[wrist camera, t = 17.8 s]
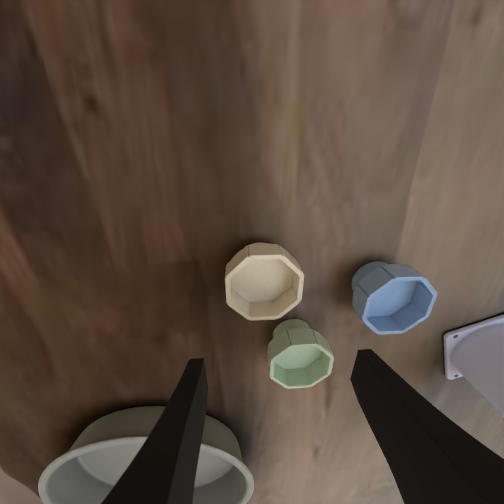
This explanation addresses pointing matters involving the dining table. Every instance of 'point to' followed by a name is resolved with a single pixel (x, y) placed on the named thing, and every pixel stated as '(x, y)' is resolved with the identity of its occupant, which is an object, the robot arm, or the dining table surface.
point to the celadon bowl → (298, 355)
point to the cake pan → (125, 449)
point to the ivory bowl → (263, 282)
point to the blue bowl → (391, 297)
